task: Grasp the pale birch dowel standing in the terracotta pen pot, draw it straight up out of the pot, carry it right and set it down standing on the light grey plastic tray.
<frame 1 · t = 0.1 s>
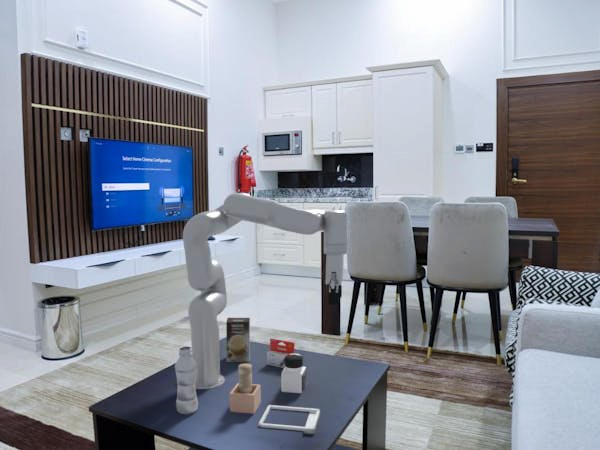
hand: (335, 300, 157), 31 cm above the table, fingers open, 9 cm apart
coffee box: (238, 359, 191), on the table
plastic bottle: (187, 413, 147), on the table
ink cartridge box: (280, 366, 184), on the table
pen pot: (245, 409, 149), on the table
dowel: (245, 406, 149), point 1 cm above the table, touching pen pot
tray: (290, 421, 142), on the table
medicine bottle: (293, 390, 163), on the table
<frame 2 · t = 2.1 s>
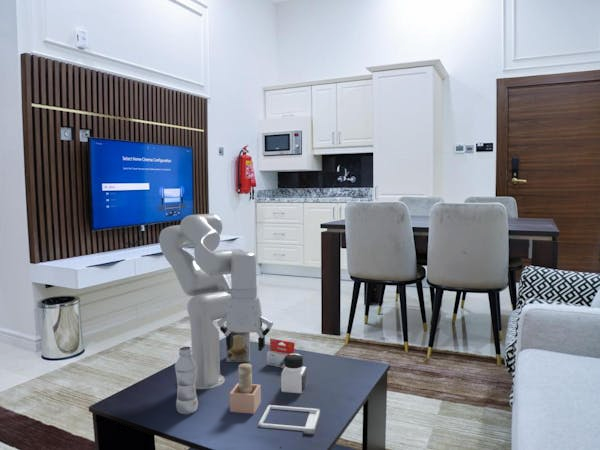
hand: (245, 348, 147), 19 cm above the table, fingers open, 9 cm apart
nothing on the table moved.
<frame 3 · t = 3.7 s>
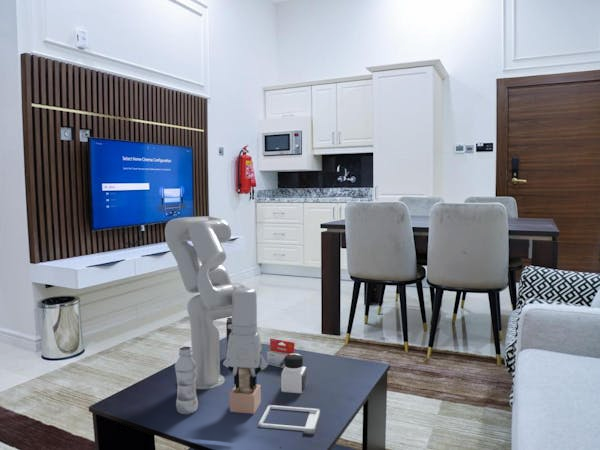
hand: (245, 386, 149), 7 cm above the table, fingers closed on dowel, 4 cm apart
dowel: (245, 406, 149), point 1 cm above the table, touching gripper, pen pot
everything else where it was.
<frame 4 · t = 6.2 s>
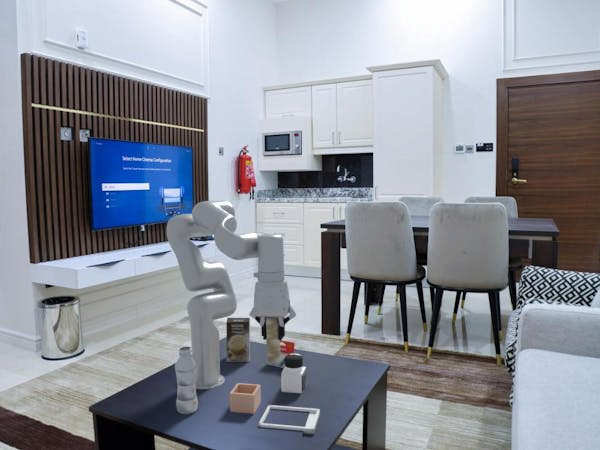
hand: (273, 338, 142), 24 cm above the table, fingers closed on dowel, 4 cm apart
dowel: (273, 359, 142), point 18 cm above the table, touching gripper
everything else where it was.
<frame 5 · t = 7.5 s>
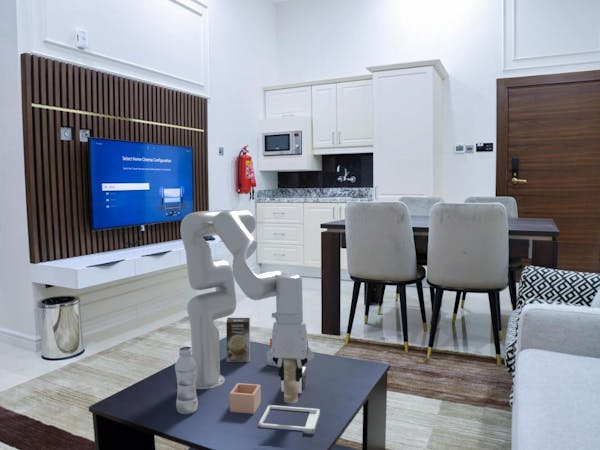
hand: (290, 378, 140), 13 cm above the table, fingers closed on dowel, 4 cm apart
dowel: (291, 400, 141), point 7 cm above the table, touching gripper
everything else where it was.
when the fingers open (8 cm above the table, at t = 8.6 s): dowel stays where it is, resting on tray.
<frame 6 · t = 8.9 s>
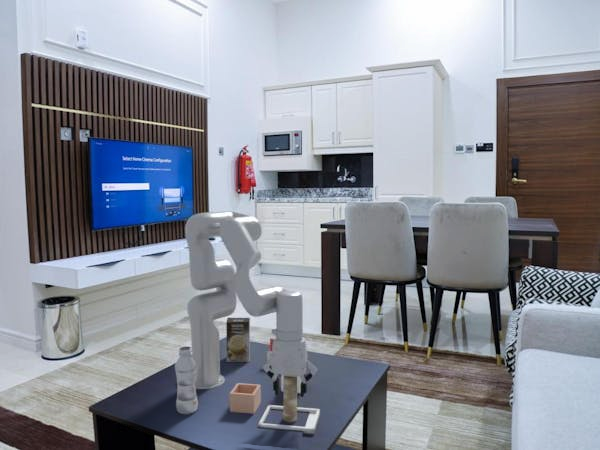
hand: (290, 393, 141), 8 cm above the table, fingers open, 7 cm apart
dowel: (290, 419, 142), point 1 cm above the table, touching tray
everything else where it was.
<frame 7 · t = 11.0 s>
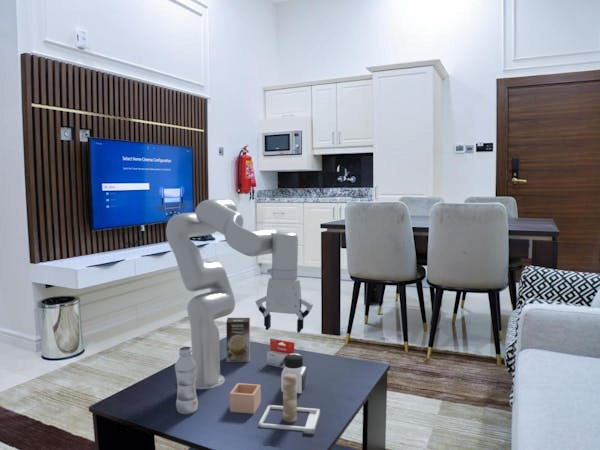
hand: (283, 329, 145), 26 cm above the table, fingers open, 9 cm apart
nothing on the table moved.
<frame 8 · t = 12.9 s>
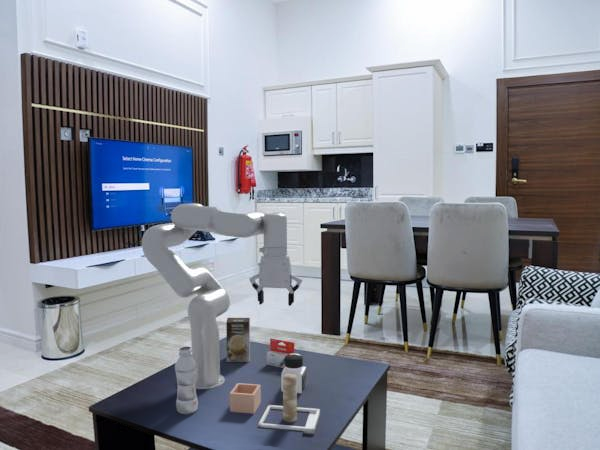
hand: (275, 304, 157), 30 cm above the table, fingers open, 9 cm apart
nothing on the table moved.
at the end: dowel inside the target area on the tray (0.0 cm from its centre), point 0.6 cm above the tray's base; dowel tilted 0°; the gripper is holding nothing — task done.
